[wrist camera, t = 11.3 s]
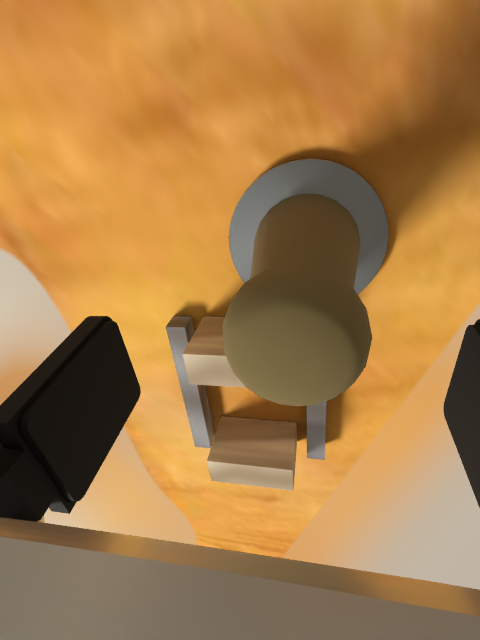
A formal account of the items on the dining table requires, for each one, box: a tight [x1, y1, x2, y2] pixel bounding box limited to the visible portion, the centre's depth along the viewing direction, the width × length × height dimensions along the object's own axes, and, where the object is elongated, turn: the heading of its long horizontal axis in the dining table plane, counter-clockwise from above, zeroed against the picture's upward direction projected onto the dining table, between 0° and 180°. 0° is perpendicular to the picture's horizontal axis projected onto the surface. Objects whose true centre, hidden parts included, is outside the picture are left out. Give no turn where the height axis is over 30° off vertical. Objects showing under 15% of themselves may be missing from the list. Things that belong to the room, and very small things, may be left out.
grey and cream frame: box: [166, 316, 327, 491], centre depth 26 cm, size 12×11×4 cm
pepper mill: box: [223, 194, 372, 406], centre depth 16 cm, size 6×6×11 cm
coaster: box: [229, 158, 388, 295], centre depth 20 cm, size 9×9×1 cm
